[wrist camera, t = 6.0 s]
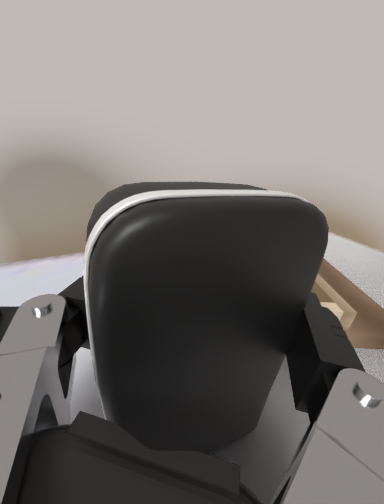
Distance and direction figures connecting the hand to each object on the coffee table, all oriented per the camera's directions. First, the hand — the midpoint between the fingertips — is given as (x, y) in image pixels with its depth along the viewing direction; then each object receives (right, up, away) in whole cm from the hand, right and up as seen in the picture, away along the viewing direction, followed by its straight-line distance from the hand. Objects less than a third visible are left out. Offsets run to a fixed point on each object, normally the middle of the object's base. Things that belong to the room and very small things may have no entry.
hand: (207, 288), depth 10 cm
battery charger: (-1, -7, +1) cm, 7 cm away
